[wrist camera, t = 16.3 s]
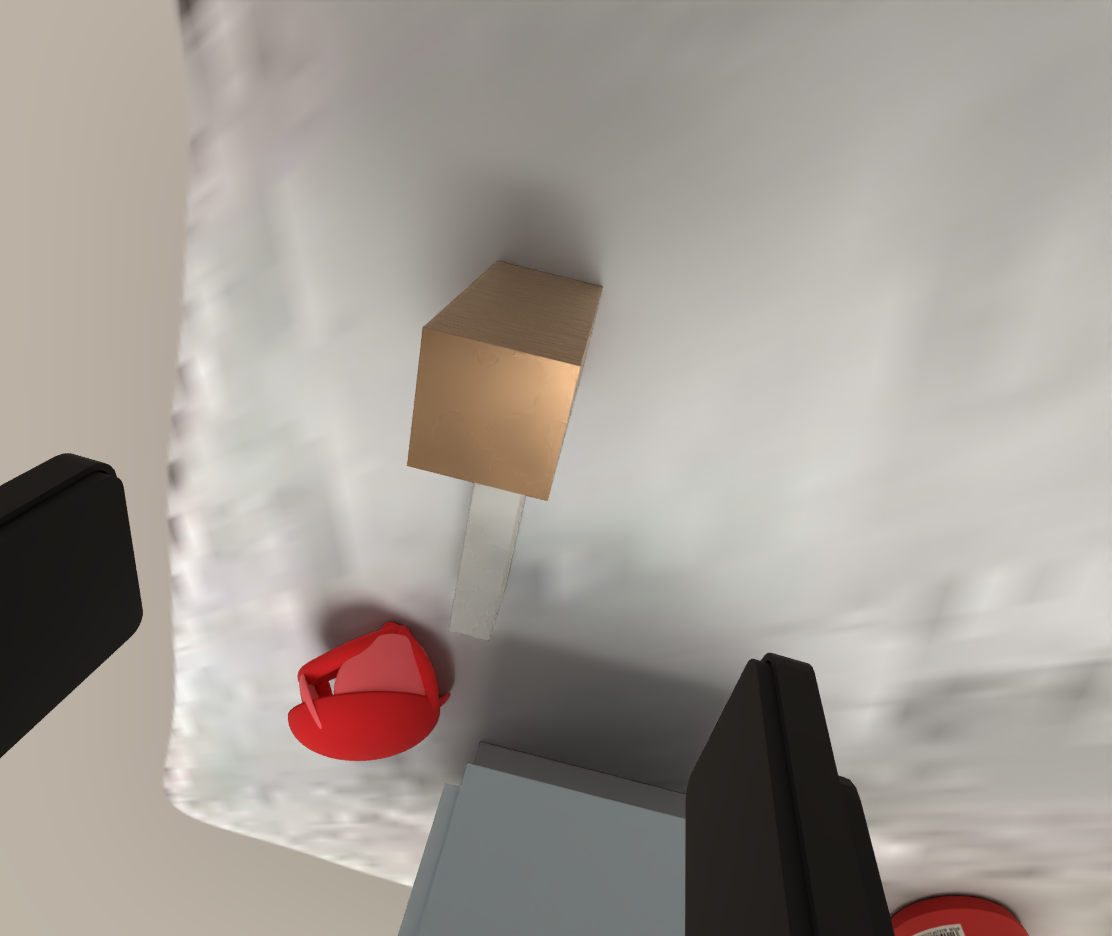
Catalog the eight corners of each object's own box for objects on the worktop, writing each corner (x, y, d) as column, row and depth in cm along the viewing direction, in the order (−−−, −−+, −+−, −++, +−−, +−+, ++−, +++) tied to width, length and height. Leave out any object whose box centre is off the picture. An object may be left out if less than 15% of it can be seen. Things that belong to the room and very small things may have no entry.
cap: (254, 688, 32) (299, 807, 31) (287, 659, 28) (341, 795, 27) (394, 628, 37) (437, 726, 36) (440, 596, 33) (490, 706, 32)
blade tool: (497, 260, 24) (422, 327, 16) (602, 286, 24) (580, 366, 16) (446, 575, 31) (377, 727, 23) (527, 595, 31) (485, 755, 23)
